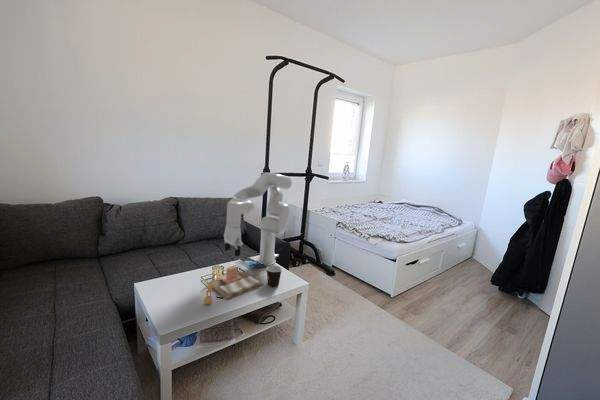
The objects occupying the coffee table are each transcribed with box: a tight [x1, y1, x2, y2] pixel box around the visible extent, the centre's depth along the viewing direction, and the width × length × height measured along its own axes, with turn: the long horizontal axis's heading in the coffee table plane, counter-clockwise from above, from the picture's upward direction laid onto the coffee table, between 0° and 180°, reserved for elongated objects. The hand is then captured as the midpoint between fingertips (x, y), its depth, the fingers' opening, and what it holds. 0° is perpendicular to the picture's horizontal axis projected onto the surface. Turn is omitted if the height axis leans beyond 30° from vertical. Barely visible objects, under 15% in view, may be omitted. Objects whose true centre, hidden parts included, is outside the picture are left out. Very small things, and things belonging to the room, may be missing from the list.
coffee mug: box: [266, 264, 283, 288], centre depth 160 cm, size 12×9×10 cm
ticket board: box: [209, 271, 264, 301], centre depth 155 cm, size 24×18×3 cm
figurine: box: [199, 282, 218, 305], centre depth 134 cm, size 8×6×12 cm
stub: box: [219, 265, 242, 284], centre depth 158 cm, size 10×7×7 cm
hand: (232, 252), depth 155 cm, fingers open, 9 cm apart
